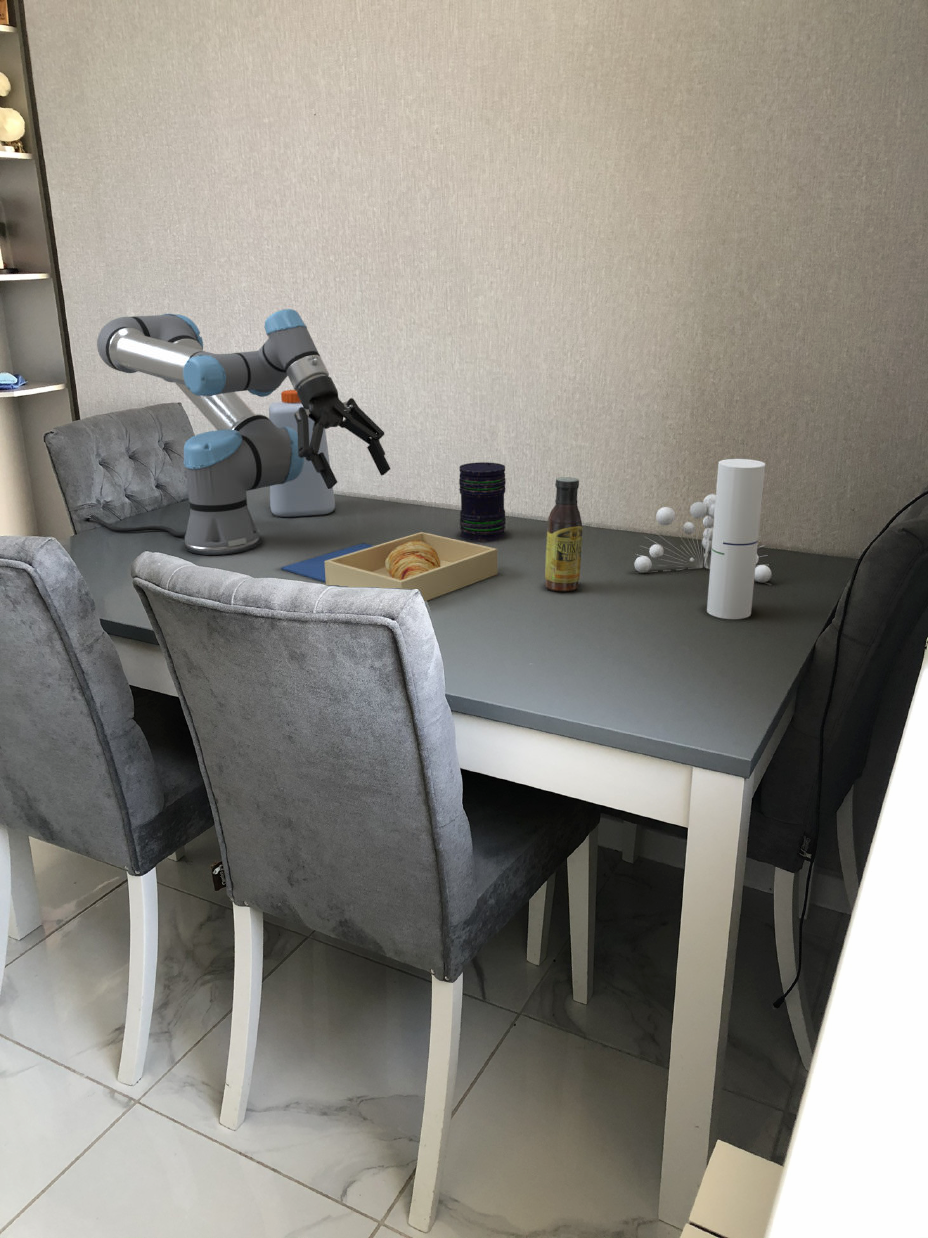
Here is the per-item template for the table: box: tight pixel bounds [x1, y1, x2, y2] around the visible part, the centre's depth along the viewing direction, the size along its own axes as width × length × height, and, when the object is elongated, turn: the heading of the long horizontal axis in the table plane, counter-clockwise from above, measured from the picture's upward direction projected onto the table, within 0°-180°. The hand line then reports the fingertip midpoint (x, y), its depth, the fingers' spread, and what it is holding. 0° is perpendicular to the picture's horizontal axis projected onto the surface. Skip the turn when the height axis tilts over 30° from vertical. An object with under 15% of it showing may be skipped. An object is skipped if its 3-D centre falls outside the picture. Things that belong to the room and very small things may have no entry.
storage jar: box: [458, 461, 507, 543], centre depth 206 cm, size 10×10×15 cm
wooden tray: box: [325, 531, 498, 602], centre depth 179 cm, size 20×26×5 cm
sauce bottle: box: [544, 476, 584, 592], centre depth 171 cm, size 6×6×20 cm
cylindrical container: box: [706, 458, 766, 620], centre depth 157 cm, size 7×7×25 cm
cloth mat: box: [280, 542, 375, 583], centre depth 191 cm, size 14×22×1 cm, turn 139°
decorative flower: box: [633, 493, 772, 585], centre depth 182 cm, size 25×22×14 cm
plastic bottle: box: [268, 389, 336, 518], centre depth 228 cm, size 15×15×28 cm
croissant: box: [385, 540, 441, 580], centre depth 179 cm, size 21×10×8 cm, turn 9°
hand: (360, 479), depth 190 cm, fingers open, 13 cm apart
